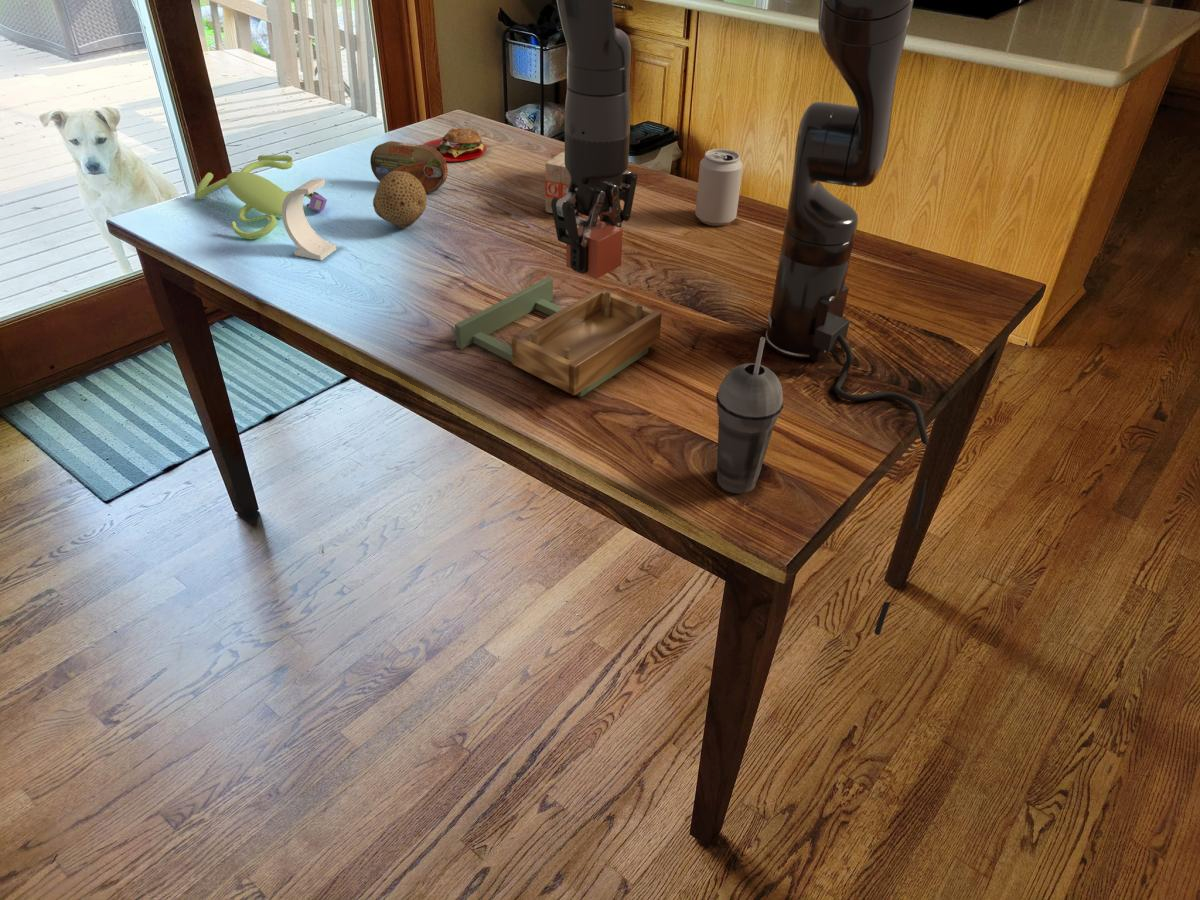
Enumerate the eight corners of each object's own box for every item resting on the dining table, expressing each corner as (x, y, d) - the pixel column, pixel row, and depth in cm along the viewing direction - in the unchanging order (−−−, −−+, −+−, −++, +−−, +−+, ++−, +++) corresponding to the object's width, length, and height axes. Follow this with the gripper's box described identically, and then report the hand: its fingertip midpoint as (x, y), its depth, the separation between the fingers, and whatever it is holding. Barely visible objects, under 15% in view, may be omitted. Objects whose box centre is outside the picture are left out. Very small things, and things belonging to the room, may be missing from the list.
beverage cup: (761, 461, 104) (788, 314, 92) (773, 501, 99) (803, 351, 86) (701, 460, 104) (720, 313, 92) (709, 501, 98) (730, 351, 86)
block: (621, 265, 111) (623, 228, 108) (596, 279, 108) (597, 241, 105) (591, 253, 113) (591, 217, 110) (566, 266, 110) (566, 229, 107)
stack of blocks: (575, 219, 157) (575, 151, 150) (544, 212, 159) (543, 145, 152) (624, 180, 172) (626, 116, 165) (595, 174, 174) (597, 111, 167)
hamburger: (462, 135, 190) (460, 106, 187) (499, 153, 182) (498, 124, 178) (406, 148, 183) (403, 119, 179) (442, 168, 175) (439, 138, 171)
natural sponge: (435, 235, 150) (429, 179, 144) (383, 243, 148) (375, 186, 142) (423, 215, 157) (417, 160, 151) (373, 221, 154) (365, 166, 148)
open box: (659, 339, 123) (662, 307, 119) (574, 395, 111) (574, 361, 108) (599, 313, 128) (600, 281, 125) (512, 364, 117) (510, 330, 114)
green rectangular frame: (657, 346, 124) (659, 324, 122) (569, 405, 112) (569, 382, 110) (548, 297, 134) (548, 276, 132) (456, 347, 123) (454, 324, 120)
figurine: (285, 173, 171) (279, 144, 167) (346, 219, 155) (341, 188, 151) (189, 194, 162) (181, 164, 158) (243, 245, 146) (235, 213, 142)
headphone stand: (321, 260, 142) (307, 189, 135) (289, 254, 144) (274, 183, 136) (337, 249, 146) (324, 178, 138) (306, 243, 147) (292, 173, 140)
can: (734, 229, 156) (742, 163, 148) (692, 225, 157) (698, 159, 149) (737, 213, 161) (745, 148, 154) (697, 208, 162) (703, 144, 155)
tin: (372, 185, 167) (366, 141, 162) (380, 179, 170) (374, 136, 164) (444, 196, 164) (440, 151, 159) (451, 190, 166) (447, 146, 161)
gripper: (582, 152, 94) (580, 293, 104) (660, 120, 103) (651, 254, 113) (530, 136, 97) (534, 274, 108) (610, 107, 106) (606, 237, 117)
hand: (594, 263), depth 110 cm, fingers closed on block, 5 cm apart
